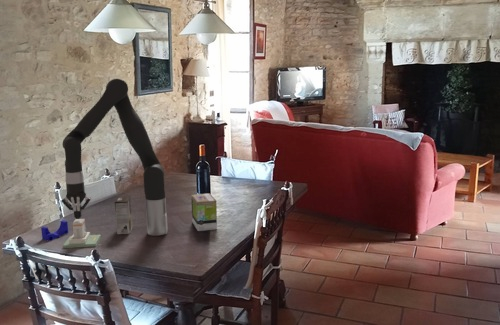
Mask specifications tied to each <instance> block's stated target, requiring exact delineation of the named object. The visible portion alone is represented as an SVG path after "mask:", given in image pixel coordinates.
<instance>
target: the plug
mask: <svg viewBox="0 0 500 325" xmlns="http://www.w3.org/2000/svg"><path fill="white" fill-rule="evenodd" d="M85 220H86V219H85V218H80V219H76V218H75V219H74V221H73V222H72V231H73V234H74V239H83V238H85V236H86V232H87V231H86V221H85Z"/></svg>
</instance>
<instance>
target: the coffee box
mask: <svg viewBox="0 0 500 325" xmlns="http://www.w3.org/2000/svg"><path fill="white" fill-rule="evenodd" d="M114 209H115V212H114V213H115V222H116V225H115V226H116V234H117V235H130V234H131V232H132V229H133V216H132V200H131V196H116V199H115V201H114Z"/></svg>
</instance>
